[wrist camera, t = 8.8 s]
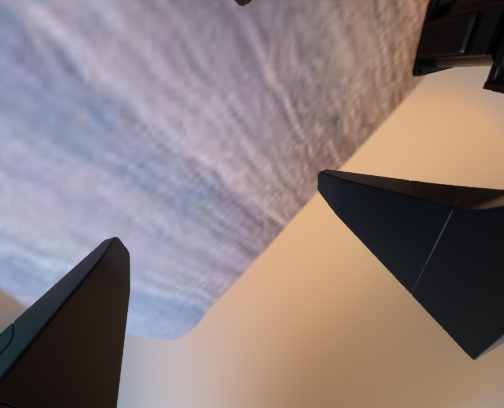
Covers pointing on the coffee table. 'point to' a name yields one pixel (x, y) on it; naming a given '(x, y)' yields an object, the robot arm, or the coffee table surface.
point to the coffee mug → (243, 2)
